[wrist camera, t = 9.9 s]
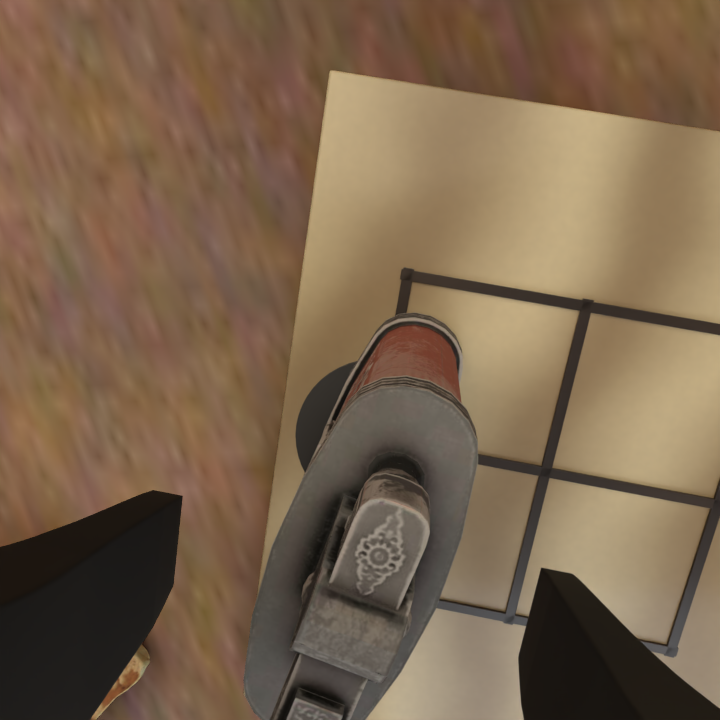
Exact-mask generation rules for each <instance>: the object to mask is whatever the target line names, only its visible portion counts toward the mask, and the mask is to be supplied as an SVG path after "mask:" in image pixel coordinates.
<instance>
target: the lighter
mask: <svg viewBox="0 0 720 720" xmlns="http://www.w3.org/2000/svg"><path fill="white" fill-rule="evenodd" d="M462 371H463V355H462V349H461V346H460V344H459V342H458V339H457V337H456V335H455V334H454V333H453V332H452V331H451V329H450V328H449V327H448V326H447V325H446V324H445V323H443V322H441V321H440V320H438V319H436V318H434V317H432V316H430V315H425V314H421V313H416V312H413V313H403V314H398V315H396V316H394V317H391V318H389V319H387V320H386V321H385V322H384V323H383V324H382V325H381V326H380V327H379V328H378V329H377V330H376V332H375V333H374V335H373V337H372V338H371V340H370V341H369V343H368V345H367V346H366V348H365V349H364V351H363V353H362V354H361V356H360V358H359V359H358V361H357V362H356V364H355V366H354V367H353V369H352V370H351V372H350V374H349V376H348V378H347V380H346V383H345V385H344V387H343V389H342V391H341V393H340V396H339V398H338V400H337V402H336V404H335V406H334V409H333V411H332V413H331V415H330V417H329V420H328V422H327V424H326V426H325V428H324V431H323V434H322V437H321V439H320V441H319V443H318V446H317V448H316V450H315V452H314V454H313V456H312V459H311V461H310V463H309V465H308V467H307V470H306V472H305V474H304V476H303V478H302V480H301V483H300V485H299V487H298V489H297V492H296V494H295V496H294V498H293V500H292V503H291V505H290V507H289V509H288V511H287V513H286V516H285V518H284V520H283V522H282V524H281V527H280V529H279V531H278V533H277V535H276V538H275V540H274V542H273V544H272V547H271V550H270V554H269V557H268V561H267V564H266V568H265V571H264V575H263V579H262V582H261V586H260V589H259V593H258V597H257V600H256V604H255V607H254V611H253V615H252V621H251V628H250V635H249V643H248V650H247V658H246V665H245V673H244V690H245V697H246V699H247V700H248V702H249V704H250V706H251V708H252V710H253V711H254V713H255V714H256V715H257V716H258V717H259V718H260V719H261V720H366V719H367V717H368V716H369V715H370V713H371V712H372V711H373V709H374V708H375V707H376V705H377V704H378V703H379V701H380V700H381V699H382V697H383V696H384V695H385V693H386V692H387V691H388V689H389V688H390V686H391V685H392V684H393V682H394V681H395V680H396V678H397V677H398V676H399V674H400V673H401V671H402V670H403V668H404V666H405V664H406V662H407V661H408V659H409V657H410V655H411V653H412V652H413V650H414V648H415V646H416V644H417V643H418V641H419V639H420V637H421V635H422V634H423V632H424V630H425V628H426V626H427V625H428V623H429V621H430V619H431V617H432V616H433V614H434V612H435V610H436V608H437V605H438V602H439V599H440V597H441V594H442V591H443V588H444V586H445V583H446V580H447V577H448V574H449V572H450V569H451V566H452V563H453V561H454V558H455V555H456V552H457V550H458V547H459V544H460V541H461V539H462V534H463V530H464V525H465V521H466V516H467V511H468V507H469V502H470V498H471V493H472V489H473V484H474V479H475V475H476V470H477V466H478V440H477V434H476V429H475V426H474V424H473V422H472V419H471V417H470V415H469V412H468V410H467V408H466V407H465V406H464V405H463V404H462V402H461V395H460V387H459V385H460V381H461V376H462Z"/></svg>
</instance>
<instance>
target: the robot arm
mask: <svg viewBox="0 0 720 720" xmlns="http://www.w3.org/2000/svg"><path fill="white" fill-rule="evenodd" d="M182 497H183V496H180V495H175V494H170V493H165V492H160V491H155V490H153V491H149V492H146V493H143V494H141V495H138V496H136V497H133V498H131V499H128V500H126V501H124V502H121V503H119V504H117V505H114V506H112V507H110V508H107V509H105V510H102V511H100V512H98V513H95V514H93V515H91V516H88V517H86V518H83V519H81V520H78V521H76V522H73V523H71V524H68V525H65V526H62V527H60V528H57V529H54V530H52V531H49V532H46V533H43V534H41V535H38V536H35V537H32V538H29V539H26V540H23V541H20V542H17V543H13V544H10V545H6V546H3V547H0V720H90V719H91V718H92V716H93V715H94V713H95V712H96V710H97V709H98V707H99V706H100V704H101V703H102V701H103V700H104V699H105V697H106V696H107V694H108V693H109V691H110V690H111V688H112V687H113V685H114V684H115V682H116V681H117V680H118V678H119V677H120V675H121V674H122V672H123V671H124V669H125V668H126V666H127V665H128V663H129V662H130V661H131V659H132V658H133V656H134V655H135V653H136V652H137V650H138V649H139V647H140V646H141V644H142V643H143V641H144V640H145V638H146V637H147V635H148V634H149V632H150V631H151V629H152V628H153V626H154V624H155V622H156V620H157V618H158V616H159V614H160V612H161V610H162V608H163V606H164V604H165V602H166V600H167V598H168V596H169V593H170V591H171V589H172V587H173V584H174V574H175V564H176V555H177V545H178V535H179V526H180V516H181V506H182ZM518 664H519V682H520V696H521V707H522V712H523V717H524V720H720V708H719V707H717V706H716V705H715V704H713V703H712V702H711V701H710V700H708V699H707V698H706V697H704V696H703V695H702V694H700V693H699V692H698V691H697V690H695V689H694V688H693V687H691V686H690V685H689V684H688V683H686V682H685V681H684V680H683V679H682V678H680V677H679V676H678V675H677V674H676V673H675V672H673V671H672V670H671V669H670V668H669V667H668V666H667V665H666V664H665V663H663V662H662V661H661V660H660V659H659V658H658V657H657V656H656V655H654V654H653V653H652V652H651V651H650V650H649V649H648V648H647V647H646V646H645V645H644V644H643V643H642V642H641V641H640V640H639V639H637V638H636V637H635V636H634V635H633V634H632V633H631V632H630V631H629V630H628V629H627V628H626V627H625V626H624V625H623V624H622V623H621V622H620V621H619V620H618V619H617V617H616V616H615V615H614V614H613V613H612V612H611V611H610V610H609V609H608V608H607V607H606V606H605V605H604V604H603V603H602V602H601V601H600V600H599V599H598V598H597V597H596V596H595V595H594V594H593V593H592V592H591V591H590V590H589V589H588V588H587V586H585V585H584V584H583V583H582V582H581V581H580V580H579V579H578V578H577V577H576V576H575V575H574V574H572V573H566V572H561V571H556V570H551V569H546V568H541V570H540V574H539V578H538V582H537V586H536V589H535V593H534V597H533V601H532V605H531V609H530V613H529V617H528V621H527V624H526V628H525V632H524V636H523V640H522V644H521V648H520V652H519V655H518Z"/></svg>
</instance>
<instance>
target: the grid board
mask: <svg viewBox="0 0 720 720" xmlns="http://www.w3.org/2000/svg"><path fill="white" fill-rule="evenodd" d="M413 312H416V313H421V314H425V315H430V316H432V317H434V318H436V319H438V320H440V321H441V322H443V323H445V324H446V325H447V326H448V327H449V328H450V329H451V331H452V332H453V333H454V334H455V335H456V337H457V339H458V342H459V344H460V346H461V349H462V355H463V371H462V376H461V381H460V385H459V387H460V395H461V402H462V404H463V405H464V406H465V407H466V408H467V410H468V412H469V415H470V417H471V419H472V422H473V424H474V426H475V429H476V434H477V440H478V466H477V470H476V475H475V479H474V484H473V489H472V493H471V498H470V502H469V507H468V511H467V516H466V521H465V525H464V530H463V534H462V539H461V541H460V544H459V547H458V550H457V552H456V555H455V558H454V561H453V563H452V566H451V569H450V572H449V574H448V577H447V580H446V583H445V586H444V588H443V591H442V594H441V597H440V599H439V602H438V605H437V608H436V610H435V612H434V614H433V616H432V617H431V619H430V621H429V623H428V625H427V626H426V628H425V630H424V632H423V634H422V635H421V637H420V639H419V641H418V643H417V644H416V646H415V648H414V650H413V652H412V653H411V655H410V657H409V659H408V661H407V662H406V664H405V666H404V668H403V670H402V671H401V673H400V674H399V676H398V677H397V678H396V680H395V681H394V682H393V684H392V685H391V686H390V688H389V689H388V691H387V692H386V693H385V695H384V696H383V697H382V699H381V700H380V701H379V703H378V704H377V705H376V707H375V708H374V709H373V711H372V712H371V713H370V715H369V716H368V717H367V719H366V720H524V717H523V712H522V707H521V696H520V682H519V664H518V655H519V652H520V648H521V644H522V640H523V636H524V632H525V628H526V624H527V621H528V617H529V613H530V609H531V605H532V601H533V597H534V593H535V589H536V586H537V582H538V578H539V574H540V570H541V568H546V569H551V570H556V571H561V572H566V573H572V574H574V575H575V576H576V577H577V578H578V579H579V580H580V581H581V582H582V583H583V584H584V585H585V586H587V588H588V589H589V590H590V591H591V592H592V593H593V594H594V595H595V596H596V597H597V598H598V599H599V600H600V601H601V602H602V603H603V604H604V605H605V606H606V607H607V608H608V609H609V610H610V611H611V612H612V613H613V614H614V615H615V616H616V617H617V619H618V620H619V621H620V622H621V623H622V624H623V625H624V626H625V627H626V628H627V629H628V630H629V631H630V632H631V633H632V634H633V635H634V636H635V637H636V638H637V639H639V640H640V641H641V642H642V643H643V644H644V645H645V646H646V647H647V648H648V649H649V650H650V651H651V652H652V653H653V654H654V655H656V656H657V657H658V658H659V659H660V660H661V661H662V662H663V663H665V664H666V665H667V666H668V667H669V668H670V669H671V670H672V671H673V672H675V673H676V674H677V675H678V676H679V677H680V678H682V679H683V680H684V681H685V682H686V683H688V684H689V685H690V686H691V687H693V688H694V689H695V690H697V691H698V692H699V693H700V694H702V695H703V696H704V697H706V698H707V699H708V700H710V701H711V702H712V703H713V704H715V705H716V706H717V707H719V708H720V131H716V130H709V129H703V128H697V127H690V126H684V125H678V124H671V123H665V122H659V121H652V120H646V119H639V118H633V117H627V116H620V115H614V114H608V113H601V112H595V111H589V110H582V109H576V108H570V107H563V106H557V105H550V104H544V103H538V102H531V101H525V100H519V99H512V98H506V97H500V96H493V95H487V94H481V93H474V92H468V91H461V90H455V89H449V88H442V87H436V86H430V85H423V84H417V83H411V82H404V81H398V80H391V79H385V78H379V77H372V76H366V75H360V74H353V73H347V72H341V71H334V70H331V71H330V72H329V79H328V86H327V93H326V100H325V107H324V115H323V122H322V129H321V136H320V144H319V151H318V158H317V165H316V172H315V180H314V187H313V194H312V201H311V208H310V216H309V223H308V230H307V237H306V244H305V252H304V259H303V266H302V273H301V280H300V288H299V295H298V302H297V309H296V316H295V324H294V331H293V338H292V345H291V353H290V360H289V367H288V374H287V381H286V389H285V396H284V403H283V410H282V417H281V425H280V432H279V439H278V446H277V453H276V461H275V468H274V475H273V482H272V489H271V497H270V504H269V511H268V518H267V525H266V533H265V540H264V547H263V554H262V562H261V569H260V576H259V583H258V590H257V597H258V593H259V589H260V586H261V582H262V579H263V575H264V571H265V568H266V564H267V561H268V557H269V554H270V550H271V547H272V544H273V542H274V540H275V538H276V535H277V533H278V531H279V529H280V527H281V524H282V522H283V520H284V518H285V516H286V513H287V511H288V509H289V507H290V505H291V503H292V500H293V498H294V496H295V494H296V492H297V489H298V487H299V485H300V483H301V480H302V478H303V476H304V474H305V472H306V470H307V467H308V465H309V463H310V461H311V459H312V456H313V454H314V452H315V450H316V448H317V446H318V443H319V441H320V439H321V437H322V434H323V431H324V428H325V426H326V424H327V422H328V420H329V417H330V415H331V413H332V411H333V409H334V406H335V404H336V402H337V400H338V398H339V396H340V393H341V391H342V389H343V387H344V385H345V383H346V380H347V378H348V376H349V374H350V372H351V370H352V369H353V367H354V366H355V364H356V362H357V361H358V359H359V358H360V356H361V354H362V353H363V351H364V349H365V348H366V346H367V345H368V343H369V341H370V340H371V338H372V337H373V335H374V333H375V332H376V330H377V329H378V328H379V327H380V326H381V325H382V324H383V323H384V322H385V321H386V320H387V319H389V318H391V317H394V316H396V315H398V314H403V313H413ZM256 600H257V598H256ZM243 694H244V695H245V690H244V691H243Z"/></svg>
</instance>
